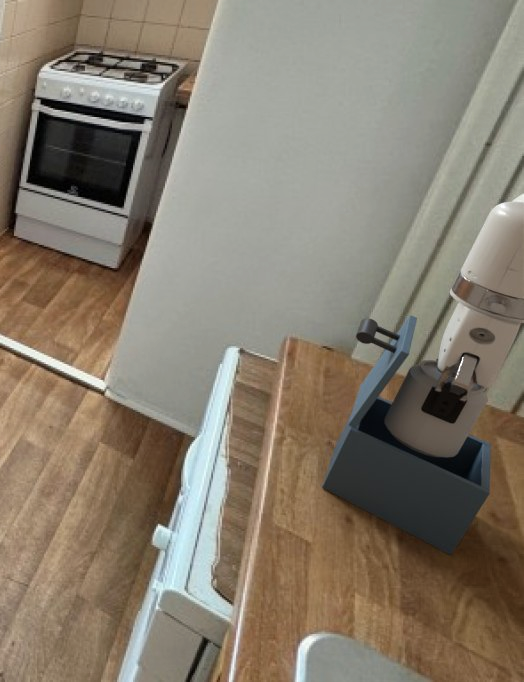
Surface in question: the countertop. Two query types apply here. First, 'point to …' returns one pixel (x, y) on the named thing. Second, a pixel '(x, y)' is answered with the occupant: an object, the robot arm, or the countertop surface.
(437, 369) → the can
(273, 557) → the countertop surface
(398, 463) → the compartment
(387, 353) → the lid
